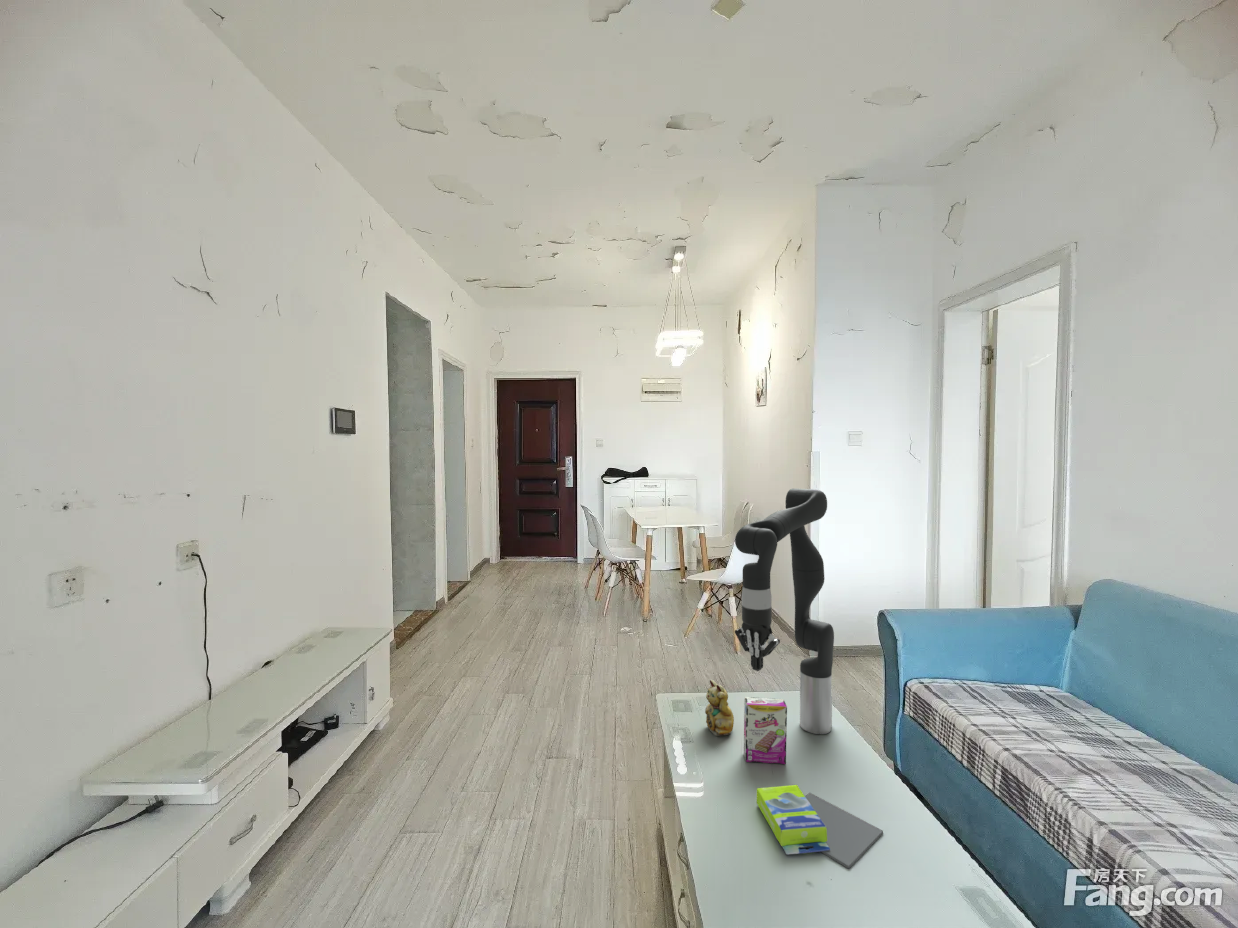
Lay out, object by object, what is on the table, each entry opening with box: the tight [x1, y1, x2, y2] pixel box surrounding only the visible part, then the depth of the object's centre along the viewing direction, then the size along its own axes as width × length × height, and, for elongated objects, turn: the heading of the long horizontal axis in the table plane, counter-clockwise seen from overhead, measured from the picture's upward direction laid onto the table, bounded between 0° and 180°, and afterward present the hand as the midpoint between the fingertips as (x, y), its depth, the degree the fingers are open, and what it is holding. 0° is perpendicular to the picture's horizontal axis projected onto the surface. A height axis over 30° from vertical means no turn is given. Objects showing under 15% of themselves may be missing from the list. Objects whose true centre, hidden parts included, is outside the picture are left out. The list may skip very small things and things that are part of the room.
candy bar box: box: [743, 696, 788, 765], centre depth 151 cm, size 11×5×16 cm, turn 84°
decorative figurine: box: [704, 679, 735, 737], centre depth 166 cm, size 10×8×15 cm
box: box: [756, 784, 830, 856], centre depth 123 cm, size 10×4×17 cm
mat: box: [804, 792, 884, 869], centre depth 123 cm, size 16×18×1 cm
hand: (756, 669), depth 141 cm, fingers closed
